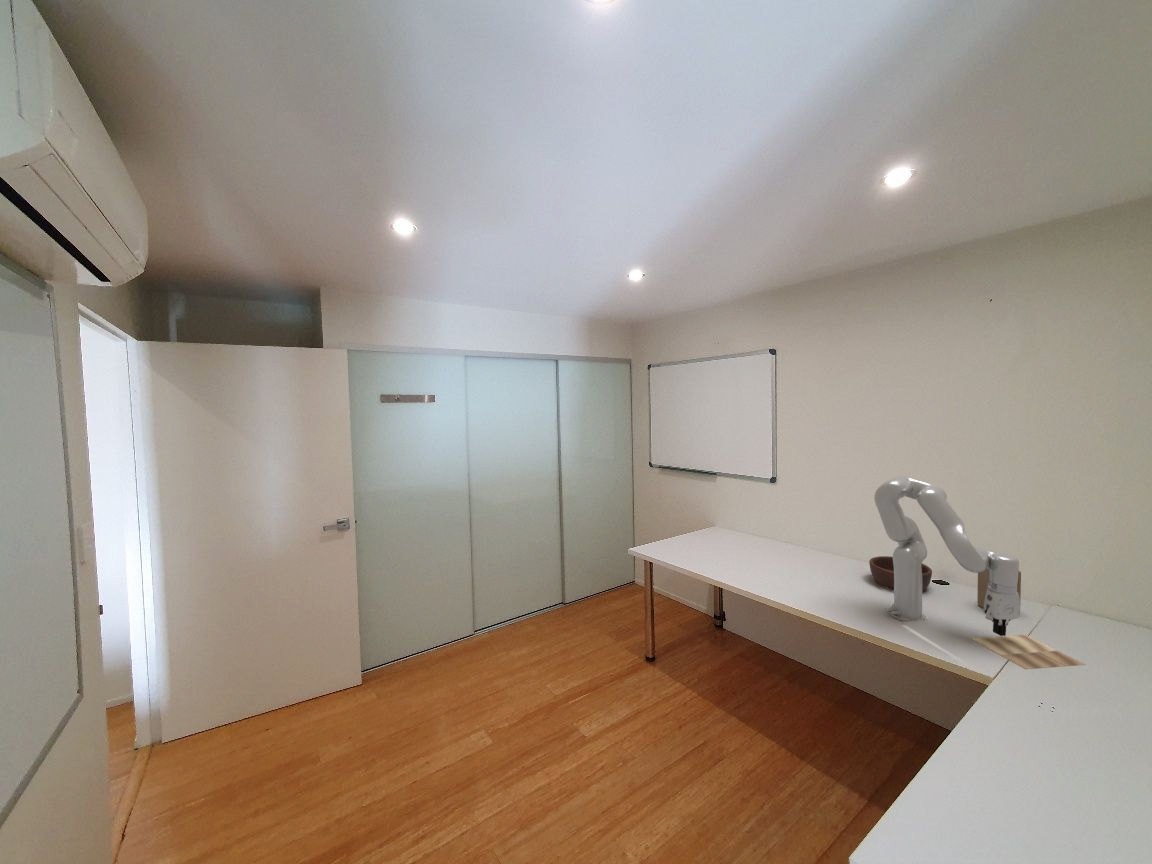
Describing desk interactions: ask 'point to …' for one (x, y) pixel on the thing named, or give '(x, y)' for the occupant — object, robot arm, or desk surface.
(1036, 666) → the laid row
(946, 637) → the desk surface
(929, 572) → the wooden bowl
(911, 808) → the desk surface
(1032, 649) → the board
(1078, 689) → the desk surface
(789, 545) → the desk surface
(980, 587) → the wooden block
